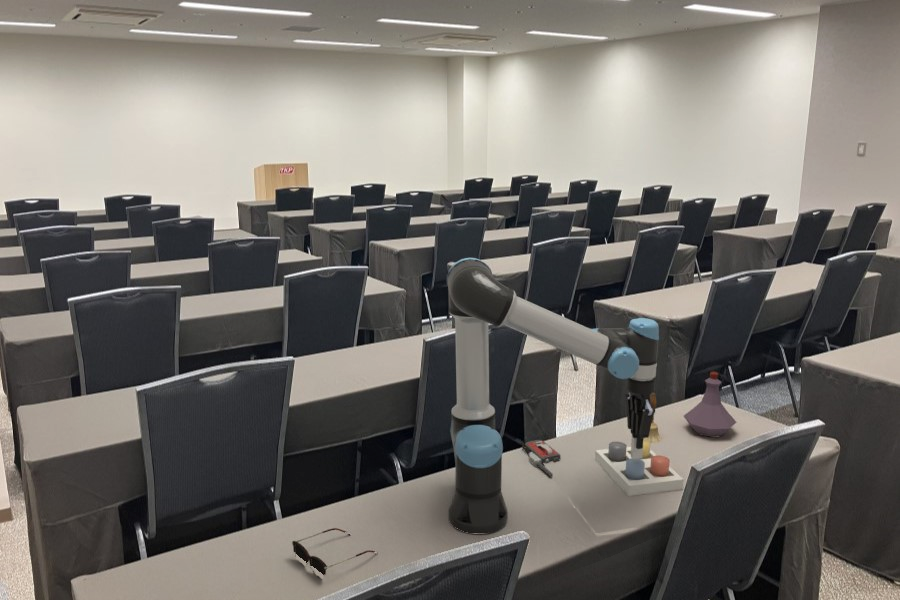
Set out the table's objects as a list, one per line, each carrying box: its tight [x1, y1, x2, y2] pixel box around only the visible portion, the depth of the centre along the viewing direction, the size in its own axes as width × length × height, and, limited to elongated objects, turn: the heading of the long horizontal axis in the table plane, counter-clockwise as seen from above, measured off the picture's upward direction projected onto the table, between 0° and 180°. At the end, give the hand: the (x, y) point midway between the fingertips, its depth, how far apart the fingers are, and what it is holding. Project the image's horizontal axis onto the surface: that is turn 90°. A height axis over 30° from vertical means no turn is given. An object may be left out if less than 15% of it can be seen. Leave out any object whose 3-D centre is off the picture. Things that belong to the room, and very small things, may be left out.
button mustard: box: [639, 439, 651, 459], centre depth 220 cm, size 5×5×4 cm
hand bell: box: [644, 392, 662, 444], centre depth 237 cm, size 8×8×16 cm
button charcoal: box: [608, 441, 628, 462], centre depth 218 cm, size 5×5×4 cm
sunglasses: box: [291, 527, 375, 576], centre depth 177 cm, size 14×16×5 cm
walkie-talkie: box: [521, 439, 561, 477], centre depth 224 cm, size 9×4×20 cm
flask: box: [683, 371, 738, 437], centre depth 243 cm, size 16×16×20 cm
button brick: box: [650, 454, 671, 477], centre depth 210 cm, size 5×5×4 cm
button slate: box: [625, 458, 645, 480], centre depth 208 cm, size 5×5×4 cm
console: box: [594, 445, 684, 497], centre depth 215 cm, size 16×22×4 cm
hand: (636, 457), depth 207 cm, fingers closed
